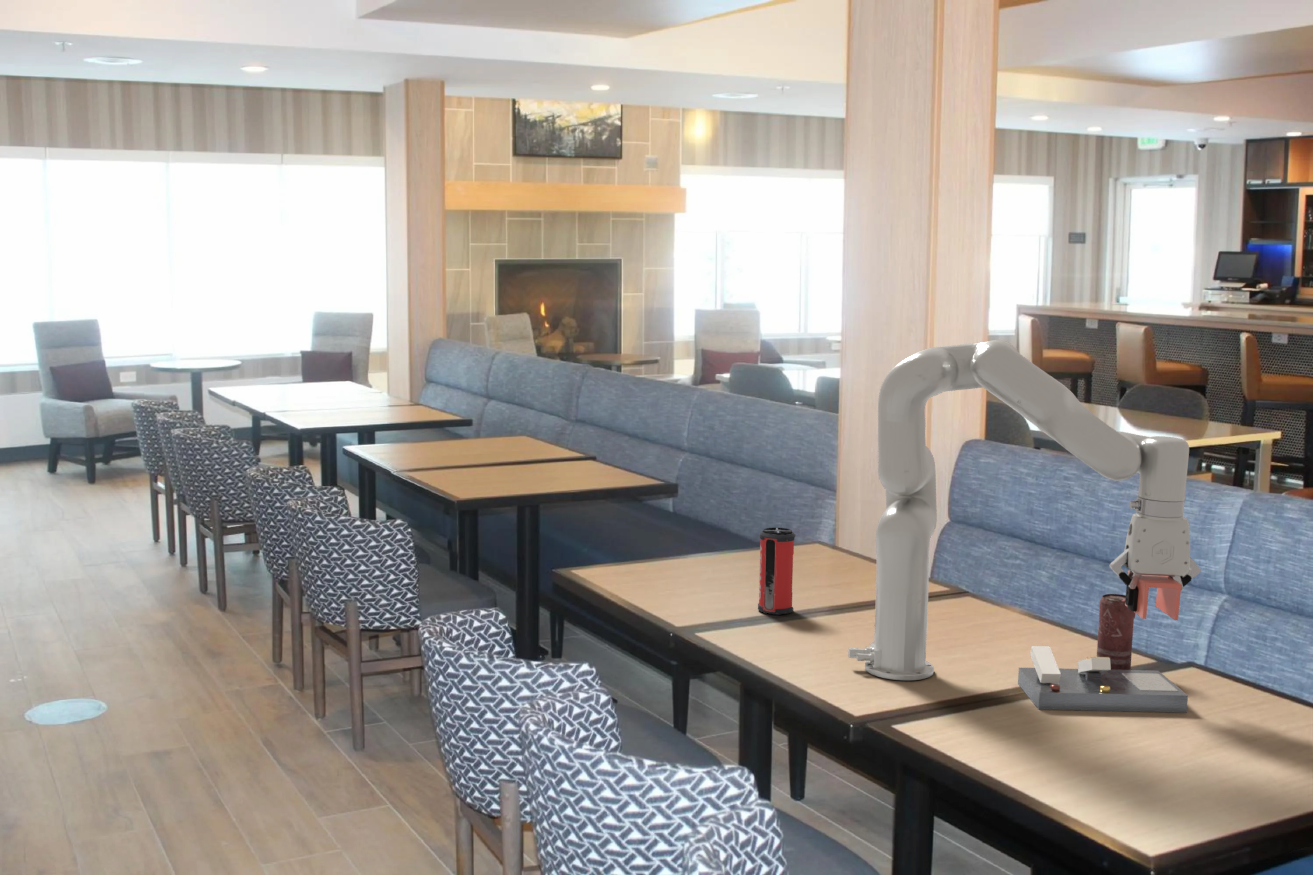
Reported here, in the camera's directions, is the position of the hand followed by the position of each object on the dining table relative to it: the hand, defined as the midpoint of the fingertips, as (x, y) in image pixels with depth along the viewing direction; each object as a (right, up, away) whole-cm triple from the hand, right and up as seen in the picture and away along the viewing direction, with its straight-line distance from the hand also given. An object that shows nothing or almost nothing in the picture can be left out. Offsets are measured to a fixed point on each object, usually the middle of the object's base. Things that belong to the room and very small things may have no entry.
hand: (1151, 609), depth 226 cm
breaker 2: (-9, -10, +2) cm, 14 cm away
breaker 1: (-18, -10, +3) cm, 20 cm away
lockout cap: (0, 0, 0) cm, 1 cm away
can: (0, -14, +19) cm, 23 cm away
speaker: (-60, -8, +57) cm, 84 cm away
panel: (-8, -16, +2) cm, 18 cm away
